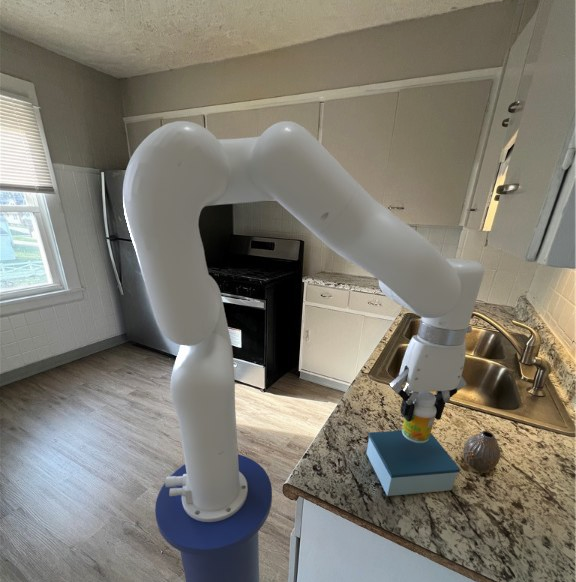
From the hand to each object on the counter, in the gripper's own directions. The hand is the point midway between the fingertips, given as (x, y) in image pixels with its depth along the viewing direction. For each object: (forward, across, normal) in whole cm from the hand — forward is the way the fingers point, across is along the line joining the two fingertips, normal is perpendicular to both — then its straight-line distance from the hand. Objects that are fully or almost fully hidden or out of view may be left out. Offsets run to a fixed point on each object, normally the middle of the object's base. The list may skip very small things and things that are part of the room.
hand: (420, 415), depth 63 cm
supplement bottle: (+5, 0, 0) cm, 5 cm away
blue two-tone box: (+15, 0, 0) cm, 15 cm away
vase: (+15, -17, 0) cm, 23 cm away
